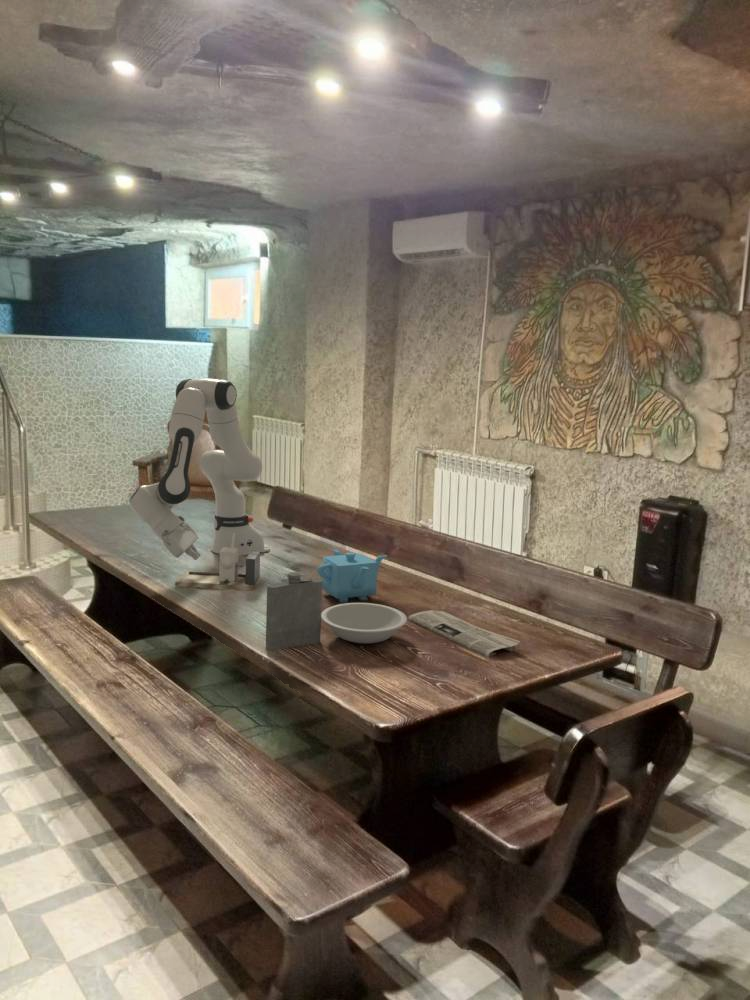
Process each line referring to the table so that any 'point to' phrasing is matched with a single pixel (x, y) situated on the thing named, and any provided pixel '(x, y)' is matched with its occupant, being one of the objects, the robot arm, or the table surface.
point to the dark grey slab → (252, 568)
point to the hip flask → (293, 612)
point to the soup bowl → (363, 621)
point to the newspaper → (463, 632)
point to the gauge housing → (229, 564)
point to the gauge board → (213, 581)
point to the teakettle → (349, 575)
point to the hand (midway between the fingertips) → (198, 557)
